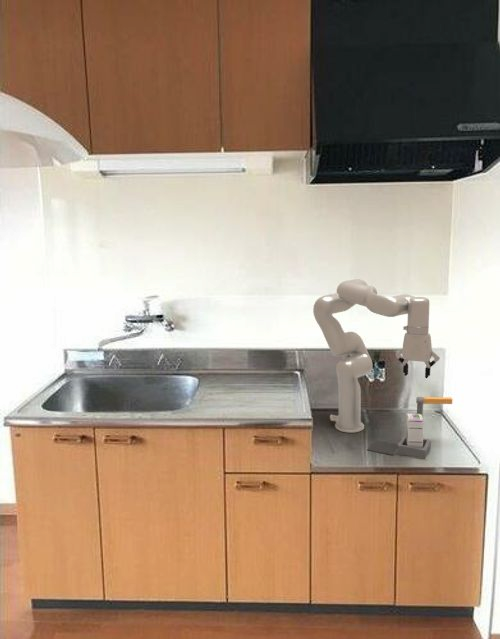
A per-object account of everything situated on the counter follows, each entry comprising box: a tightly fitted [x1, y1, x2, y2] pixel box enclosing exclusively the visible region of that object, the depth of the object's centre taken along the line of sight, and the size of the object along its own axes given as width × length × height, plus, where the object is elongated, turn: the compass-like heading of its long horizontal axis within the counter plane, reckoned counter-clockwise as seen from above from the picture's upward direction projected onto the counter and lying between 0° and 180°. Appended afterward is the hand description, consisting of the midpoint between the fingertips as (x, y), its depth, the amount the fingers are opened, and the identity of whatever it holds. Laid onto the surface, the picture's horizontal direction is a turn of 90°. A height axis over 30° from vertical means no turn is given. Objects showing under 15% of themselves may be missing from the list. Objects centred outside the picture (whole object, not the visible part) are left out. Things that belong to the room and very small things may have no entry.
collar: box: [397, 434, 432, 460], centre depth 194 cm, size 10×10×4 cm
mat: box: [366, 439, 399, 456], centre depth 198 cm, size 10×10×1 cm
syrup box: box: [406, 412, 424, 449], centre depth 193 cm, size 6×6×14 cm
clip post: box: [416, 403, 424, 419], centre depth 200 cm, size 6×5×16 cm
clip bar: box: [415, 396, 453, 405], centre depth 198 cm, size 3×14×2 cm, turn 83°
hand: (416, 375), depth 188 cm, fingers open, 7 cm apart
